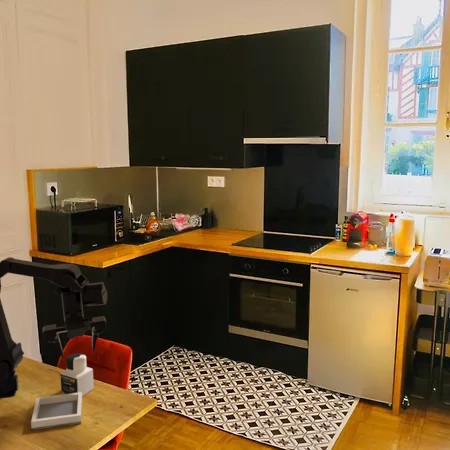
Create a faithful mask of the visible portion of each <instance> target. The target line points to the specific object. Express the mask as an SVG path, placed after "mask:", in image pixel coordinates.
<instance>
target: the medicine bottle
mask: <svg viewBox="0 0 450 450" xmlns="http://www.w3.org/2000/svg"><path fill="white" fill-rule="evenodd" d="M65 366H66V369H64V370H63V371H61V372H60V374H59V375H60V390H61V395H62V394H70V393H79V392H82V397H84V396H85V395H86V394H88V393H90V392H91V391H93V390H94V389H95V387H94V386H95V385H94V369H93V368H91V367H88V366H87V356H86V354H84V353H81V352H79V353H78V352H77V353H76V352H75V353H72V354H70V355H68V356H67V357H66V358H65Z"/></svg>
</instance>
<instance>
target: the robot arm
mask: <svg viewBox="0 0 450 450" xmlns="http://www.w3.org/2000/svg"><path fill="white" fill-rule="evenodd" d="M8 274H13V275H19V276H26V277H29V278H30V277H31V278H38V279H43V280H47V281H49V282H51V283H52V284H54V285H57V288H56V289H55V291H53V294H54V295H61V303H62V310H63V311H62V313H63V320H64V326H58V327H57V324H56V323H54V324H53V323H52V324H48V325H44V326H43V327H42V340H43V341H44V342H45V341H47V342H48V343H53V344H54V346H55V347H56V349H57V350H58V353H59V355H60V356H61V358H64V350H63V347H62V344H61V343H62V342H61V339H60V336H59V335H60V334H65V333H66V334H67V338H69V339H74V338H77V337H79V338H81V337H84V336H85V335H86V334H85V333H86V332H87V331H90V330H91V348H92V352H95V349H96V345H97V342H98V341H97V340H98V338H99V336H100V334H102V333H104V331H106V330H108V323H107V319H106V317H105V316H104V315H102V316H95V317H92V321H91V320H90V319H91V318H90V317H85V316H84V309H83V305H85V306H88V307H89V306H102V305H107V301H108V290H107V289H106V286H105V283H104V281H101V282H100V281H99V282H93V283H91V282H90V281H89V280H88V279H87V278H86V276H84V275H83V273H82V271H81V269H80V268H79V265H77V264H74V263H58V264H47V263H41V262H34V261H31V260H30V261H29V260H24V259H19V258H14V257H11V256H10V257H9V256H8V257H6V258H4V259H2V260H1V261H0V293H1V292H2V291H1V290H2V278H3V277H4V276H6V275H8ZM24 354H25V352H24V350H23V349H22V343H21V342H18V343H16V341H14V340H13V338H12V334H11V331H10V327H9V324H8V320H7V318H6V314H5V310H4V307H3V303H2V300H1V298H0V398H5V397H6V398H7V397H14V396H16V393H17V391H18V389H19V387H20V386H19V377H18V374H17V373H16V369H17V368H18V366H19V364H21V363H22V360H23V359H24V358H23V357H24Z"/></svg>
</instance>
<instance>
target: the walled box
mask: <svg viewBox="0 0 450 450" xmlns="http://www.w3.org/2000/svg"><path fill="white" fill-rule="evenodd" d="M82 411H83V396H82V392H79V393H70V394H62V393H61V394H57V395H56V394H54V395H46V396H39V397H36V399H35V403H34V408H33V412H32V417H31V421H30V425H31V427H30V428H31V431H35V430H37V431H38V430H42V429H51V428H58V427H65V426H72V425H78V424H79V425H80V424H82V413H83V412H82Z"/></svg>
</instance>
